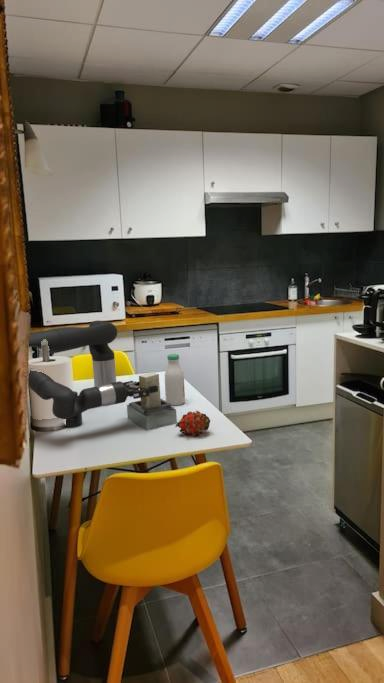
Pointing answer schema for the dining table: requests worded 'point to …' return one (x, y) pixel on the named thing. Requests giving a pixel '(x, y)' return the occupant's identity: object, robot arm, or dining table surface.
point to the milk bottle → (174, 381)
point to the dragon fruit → (193, 423)
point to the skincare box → (154, 397)
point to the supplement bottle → (74, 418)
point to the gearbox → (152, 415)
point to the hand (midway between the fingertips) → (152, 385)
